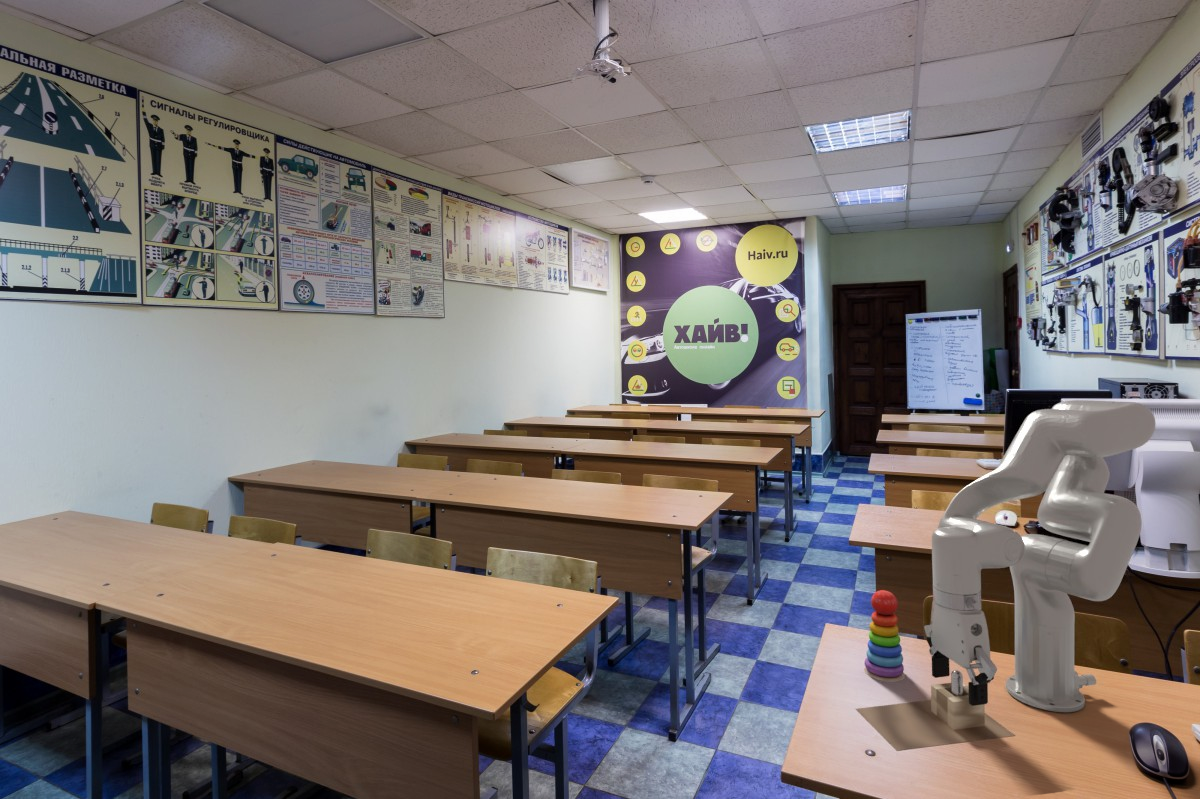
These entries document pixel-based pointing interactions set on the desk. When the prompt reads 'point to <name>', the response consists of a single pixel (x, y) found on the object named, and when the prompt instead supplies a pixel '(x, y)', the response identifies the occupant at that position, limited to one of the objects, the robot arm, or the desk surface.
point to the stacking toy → (884, 640)
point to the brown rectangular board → (924, 726)
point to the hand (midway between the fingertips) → (958, 689)
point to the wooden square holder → (956, 707)
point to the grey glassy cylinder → (956, 683)
